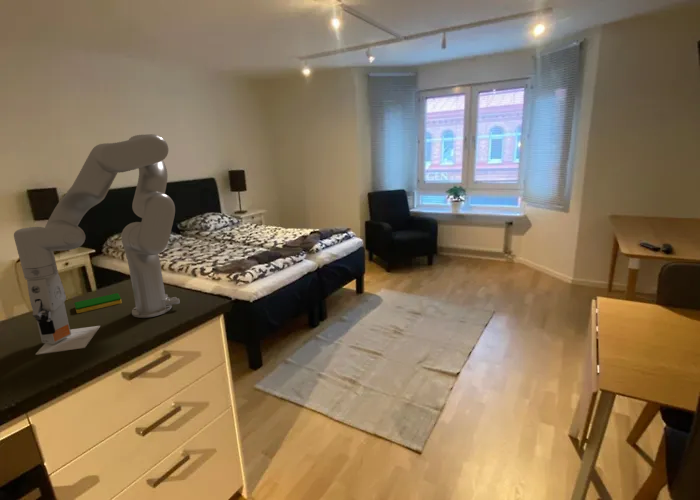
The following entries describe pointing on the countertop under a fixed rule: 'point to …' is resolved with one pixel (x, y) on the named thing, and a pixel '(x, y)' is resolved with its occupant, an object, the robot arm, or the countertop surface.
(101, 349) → the countertop surface
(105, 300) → the dish sponge
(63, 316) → the skincare box
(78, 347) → the paper
